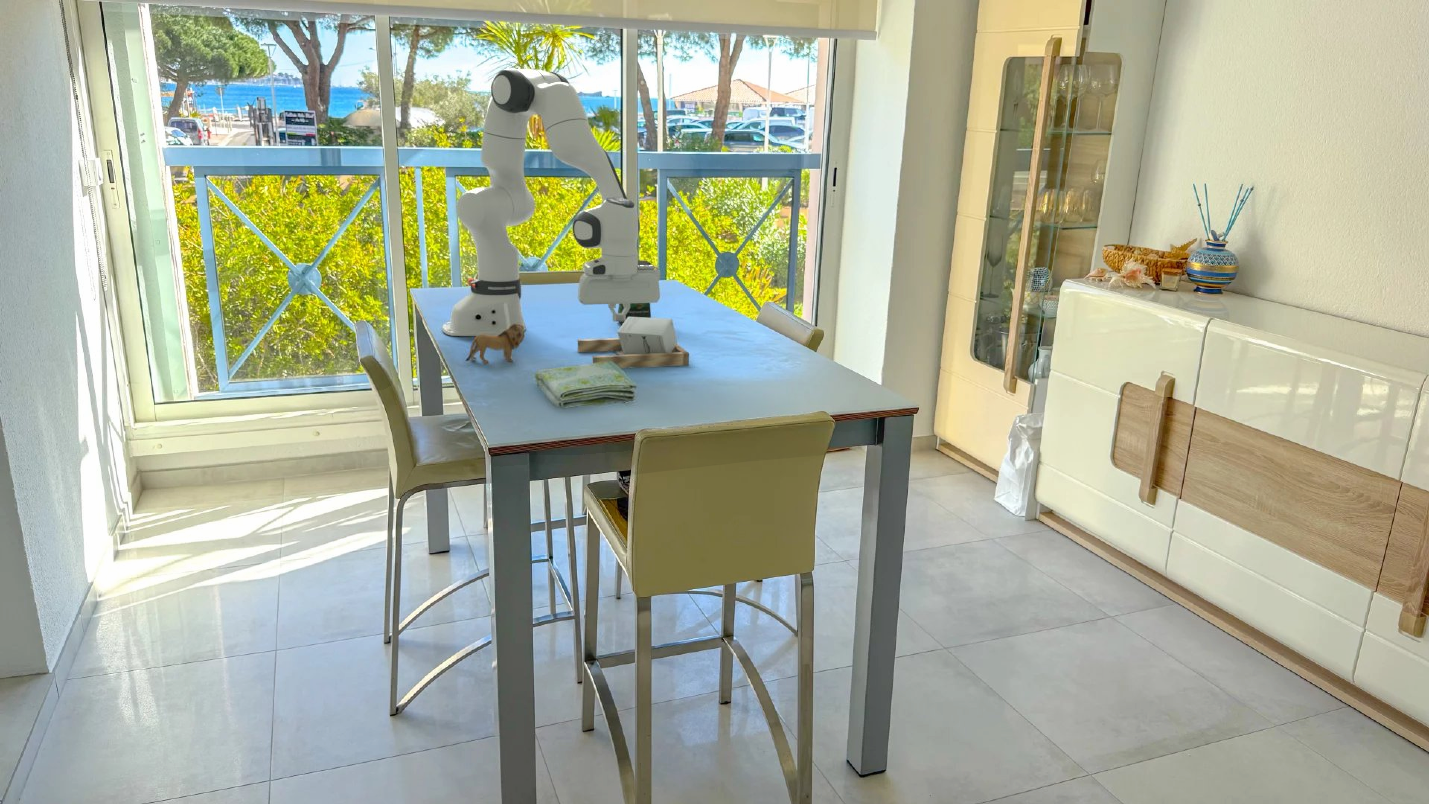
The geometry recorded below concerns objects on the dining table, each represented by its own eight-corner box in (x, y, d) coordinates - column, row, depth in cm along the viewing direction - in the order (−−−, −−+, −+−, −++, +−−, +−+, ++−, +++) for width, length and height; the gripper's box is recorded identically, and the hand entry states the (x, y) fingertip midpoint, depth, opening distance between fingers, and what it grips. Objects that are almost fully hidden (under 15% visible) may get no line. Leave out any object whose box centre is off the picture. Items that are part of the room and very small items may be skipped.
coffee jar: (621, 327, 282) (622, 262, 277) (615, 321, 289) (615, 258, 284) (654, 326, 285) (655, 262, 280) (646, 320, 292) (648, 258, 287)
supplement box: (616, 332, 245) (662, 334, 240) (627, 315, 250) (673, 317, 246) (622, 356, 249) (668, 359, 245) (634, 339, 255) (678, 342, 250)
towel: (557, 411, 204) (557, 388, 203) (534, 384, 223) (533, 363, 222) (640, 404, 211) (640, 382, 210) (611, 379, 230) (611, 358, 229)
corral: (594, 369, 236) (594, 357, 235) (577, 350, 253) (577, 339, 252) (688, 364, 244) (689, 353, 243) (666, 347, 261) (667, 336, 260)
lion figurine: (521, 356, 246) (521, 320, 243) (527, 361, 241) (527, 325, 239) (462, 360, 239) (461, 324, 237) (468, 365, 235) (466, 329, 232)
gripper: (656, 263, 247) (655, 317, 251) (576, 264, 240) (576, 319, 244) (664, 267, 241) (662, 322, 245) (581, 268, 234) (581, 325, 238)
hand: (619, 321), depth 244 cm, fingers closed
